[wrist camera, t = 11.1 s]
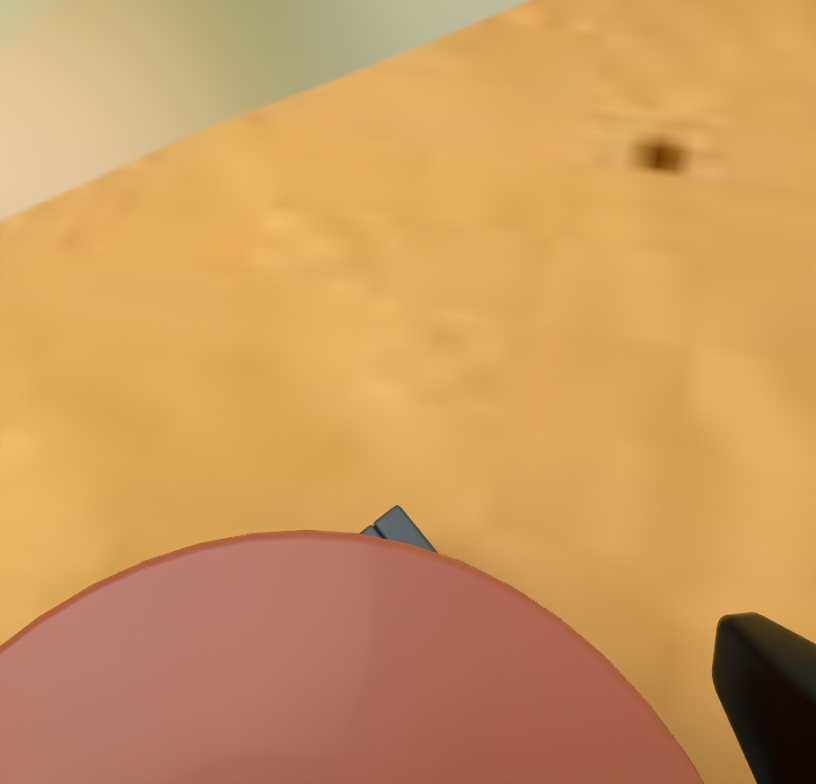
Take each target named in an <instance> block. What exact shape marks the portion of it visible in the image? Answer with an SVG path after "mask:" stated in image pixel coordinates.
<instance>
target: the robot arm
mask: <svg viewBox="0 0 816 784" xmlns="http://www.w3.org/2000/svg"><path fill="white" fill-rule="evenodd" d="M712 678H713V684H714V687H715V690H716V693H717V695H718V697H719V700H720V702H721V704H722V706H723V708H724V711H725V713H726V715H727V717H728V720H729V722H730V724H731V726H732V729H733V731H734V733H735V735H736V738H737V740H738V742H739V744H740V747H741V749H742V751H743V753H744V756H745V758H746V760H747V762H748V764H749V767H750V769H751V771H752V773H753V776H754V778H755V780H756V782H757V784H816V644H815V643H813V642H811V641H809V640H807V639H805V638H804V637H802V636H800V635H798V634H796V633H794V632H792V631H790V630H789V629H787V628H785V627H783V626H781V625H779V624H777V623H775V622H774V621H772V620H770V619H768V618H766V617H764V616H762V615H760V614H758V613H753V612H748V613H739V614H730V615H725V616H723V617H721V618H720V620H719V622H718V624H717V630H716V638H715V647H714V655H713V664H712Z"/></svg>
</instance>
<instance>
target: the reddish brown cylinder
mask: <svg viewBox="0 0 816 784" xmlns="http://www.w3.org/2000/svg"><path fill="white" fill-rule="evenodd" d="M0 784H704V783H703V781H702V779H701V778H700V776H699V774H698V773H697V771H696V769H695V767H694V766H693V764H692V762H691V761H690V759H689V757H688V756H687V755H686V753H685V752H684V750H683V749H682V748H681V746H680V745H679V744H678V742H677V741H676V740H675V738H674V737H673V736H672V734H671V733H670V731H669V730H668V729H667V727H666V726H665V725H664V723H663V722H662V721H661V719H660V718H659V717H658V715H657V714H656V712H655V711H654V710H653V708H652V707H651V706H650V704H649V703H648V702H647V701H646V700H645V699H644V698H643V697H642V696H641V694H640V693H639V692H638V691H637V690H636V689H635V688H634V687H633V686H632V685H631V684H630V683H629V682H628V680H627V679H626V678H625V677H624V676H623V675H622V674H621V673H620V672H619V671H618V670H617V669H616V668H615V666H614V665H613V664H612V663H611V662H610V661H609V660H608V659H607V658H606V657H605V656H604V655H603V654H602V653H600V652H599V651H598V650H597V649H596V648H595V647H593V646H592V645H591V644H590V643H589V642H588V641H586V640H585V639H584V638H583V637H582V636H581V635H579V634H578V633H577V632H576V631H575V630H574V629H572V628H571V627H570V626H569V625H568V624H566V623H565V622H564V621H563V620H562V619H561V618H559V617H558V616H556V615H555V614H553V613H552V612H550V611H549V610H547V609H546V608H544V607H543V606H541V605H540V604H538V603H537V602H535V601H534V600H532V599H531V598H529V597H528V596H526V595H525V594H523V593H521V592H520V591H518V590H517V589H515V588H514V587H512V586H511V585H508V584H506V583H504V582H502V581H500V580H498V579H496V578H494V577H492V576H490V575H488V574H486V573H484V572H482V571H480V570H478V569H476V568H474V567H472V566H470V565H468V564H466V563H464V562H462V561H459V560H456V559H453V558H450V557H447V556H444V555H441V554H438V553H435V552H433V551H430V550H427V549H424V548H421V547H418V546H415V545H412V544H408V543H403V542H398V541H393V540H388V539H383V538H378V537H373V536H368V535H363V534H357V533H342V532H328V531H314V530H298V531H281V532H265V533H251V534H246V535H241V536H235V537H230V538H225V539H220V540H214V541H209V542H204V543H199V544H195V545H192V546H189V547H186V548H183V549H180V550H177V551H174V552H171V553H167V554H164V555H161V556H158V557H155V558H152V559H149V560H146V561H143V562H141V563H139V564H137V565H134V566H132V567H130V568H128V569H126V570H123V571H121V572H119V573H117V574H115V575H113V576H110V577H108V578H106V579H104V580H102V581H99V582H97V583H95V584H93V585H91V586H89V587H88V588H86V589H84V590H83V591H81V592H79V593H78V594H76V595H74V596H73V597H71V598H69V599H68V600H66V601H64V602H63V603H61V604H59V605H58V606H56V607H54V608H53V609H51V610H49V611H48V612H46V613H44V614H43V615H41V616H39V617H38V618H37V619H35V620H34V621H33V622H31V623H30V624H29V625H27V626H26V627H25V628H23V629H22V630H21V631H19V632H18V633H17V634H16V635H14V636H13V637H12V638H10V639H9V640H8V641H6V642H5V643H4V644H2V645H1V646H0Z"/></svg>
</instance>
